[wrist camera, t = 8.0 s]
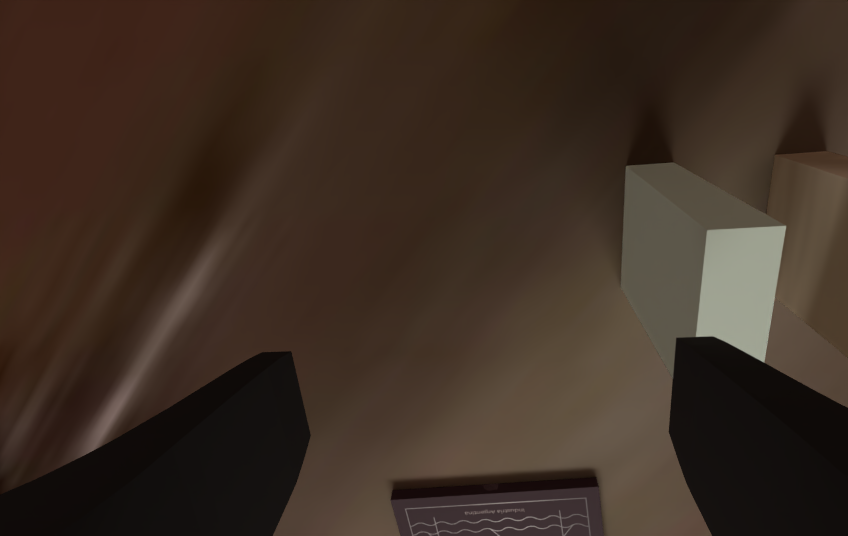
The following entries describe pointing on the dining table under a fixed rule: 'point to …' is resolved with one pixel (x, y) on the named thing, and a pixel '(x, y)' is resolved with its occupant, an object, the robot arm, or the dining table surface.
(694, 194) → the sage domino
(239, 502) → the robot arm
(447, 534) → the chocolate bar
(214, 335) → the dining table surface
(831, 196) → the maple domino
